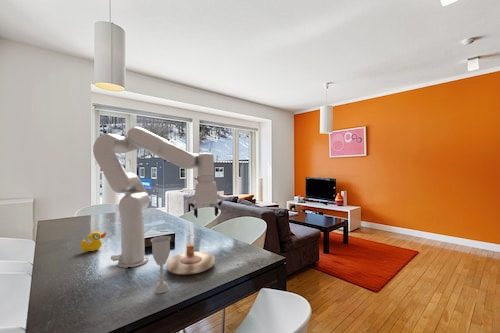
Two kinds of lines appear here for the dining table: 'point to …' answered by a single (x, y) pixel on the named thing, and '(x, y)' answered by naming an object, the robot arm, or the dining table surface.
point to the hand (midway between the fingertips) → (206, 216)
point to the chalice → (161, 259)
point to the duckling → (93, 242)
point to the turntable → (190, 262)
